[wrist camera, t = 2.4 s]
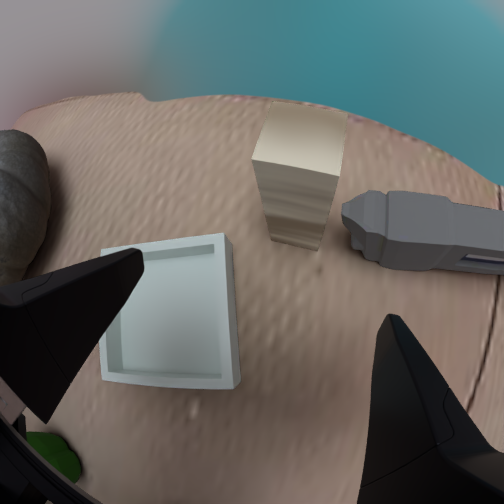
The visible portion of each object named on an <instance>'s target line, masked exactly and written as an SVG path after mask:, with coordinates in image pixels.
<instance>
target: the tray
mask: <svg viewBox="0 0 504 504" xmlns="http://www.w3.org/2000/svg"><path fill="white" fill-rule="evenodd" d="M128 248H137V249H140V250H141V251H142V253H143V260H144V267H145V269H144V273H143V275H142V277H141V278H140V280H139V282H138V283H137V285H136V287H135V288H134V290H133V292H132V293H131V295H130V297H129V298H128V300H127V302H126V303H125V305H124V306H123V308H122V309H121V310H120V312H119V313H118V314H117V316H116V317H115V319H114V320H113V321H112V323H111V324H110V326H109V327H108V328H107V330H106V331H105V333H104V334H103V336H102V337H101V339H100V340H99V346H100V362H101V374H102V380H106V381H113V382H120V383H128V384H136V385H146V386H156V387H170V388H188V389H234V388H235V387H236V386H237V385H238V384H239V383H240V382H241V374H240V361H239V348H238V333H237V319H236V303H235V287H234V270H233V252H232V243H231V242H230V241H229V239H228V238H227V236H226V235H225V233H217V234H209V235H201V236H193V237H186V238H178V239H171V240H163V241H156V242H149V243H141V244H134V245H127V246H121V247H114V248H107V249H101V256H104V255H108V254H111V253H114V252H118V251H121V250H125V249H128Z"/></svg>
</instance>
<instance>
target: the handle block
mask: <svg viewBox="0 0 504 504" xmlns="http://www.w3.org/2000/svg"><path fill="white" fill-rule="evenodd" d="M347 117H348V114H347V113H342V112H337V111H332V110H327V109H322V108H317V107H311V106H305V105H298V104H292V103H284V102H276V101H272V103H271V106H270V108H269V111H268V114H267V117H266V119H265V122H264V125H263V128H262V131H261V133H260V136H259V139H258V142H257V145H256V148H255V151H254V153H253V156H252V159H251V160H252V164H253V168H254V171H255V175H256V180H257V184H258V188H259V192H260V196H261V200H262V204H263V208H264V212H265V216H266V221H267V225H268V229H269V233H270V237H271V240H272V241H276V242H280V243H285V244H289V245H293V246H297V247H302V248H306V249H310V250H314V251H318V248H319V245H320V241H321V238H322V235H323V232H324V228H325V225H326V222H327V219H328V215H329V212H330V208H331V205H332V201H333V198H334V194H335V191H336V187H337V183H338V180H339V176H340V170H341V163H342V156H343V149H344V142H345V134H346V126H347Z"/></svg>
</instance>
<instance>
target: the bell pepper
mask: <svg viewBox="0 0 504 504" xmlns="http://www.w3.org/2000/svg"><path fill="white" fill-rule="evenodd" d="M26 435H27V442H28V443H29V445H30V446H31V447H33V448H34V449H35V450H36V451H37V452H38V453H39V454H40V455H41V456H42V457H43V458H44V459H45V460H46V461H47V462H49V463H50V464H51V465H52V466H53V467H54V468H55V469H57V470H58V471H59V472H60V473H61V474H63V475H64V476H65V477H66V478H68V479H69V480H70V481H71V482H73V483H74V484H75V483H76V482H77V480H78V478H79V475H80V473H81V467H80V463H79V460H78V458H77V457H76V455H75V454H74V452H72V451H70V450H69V449H68V447H67V444H66V443H65V442H64V441H63V439H62V438H61V437H58V436H56V435H53V434H51V433H44V432H26Z"/></svg>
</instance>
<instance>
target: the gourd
mask: <svg viewBox="0 0 504 504" xmlns="http://www.w3.org/2000/svg"><path fill="white" fill-rule="evenodd" d="M48 183H49V170H48V163H47V158H46V154H45V152H44V150H43V148H42V147H41V145H40V144H39V143H38V142H37V141H36V140H35V139H34V138H33V137H32V136H30V135H28V134H27V133H24V132H21V131H18V130H14V129H12V130H2V131H0V287H1V286H5V285H9V284H12V283H16V282H20V281H21V280H22V278H23V276H24V274H25V272H26V269H27V266H28V264H30V263H31V262H32V260H33V259H34V257H35V255H36V253H37V251H38V249H39V247H40V246H41V244H42V243H43V241H44V239H45V235H46V230H47V220H48V218H49V215H50V210H51V191H50V187H49V184H48Z"/></svg>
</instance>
